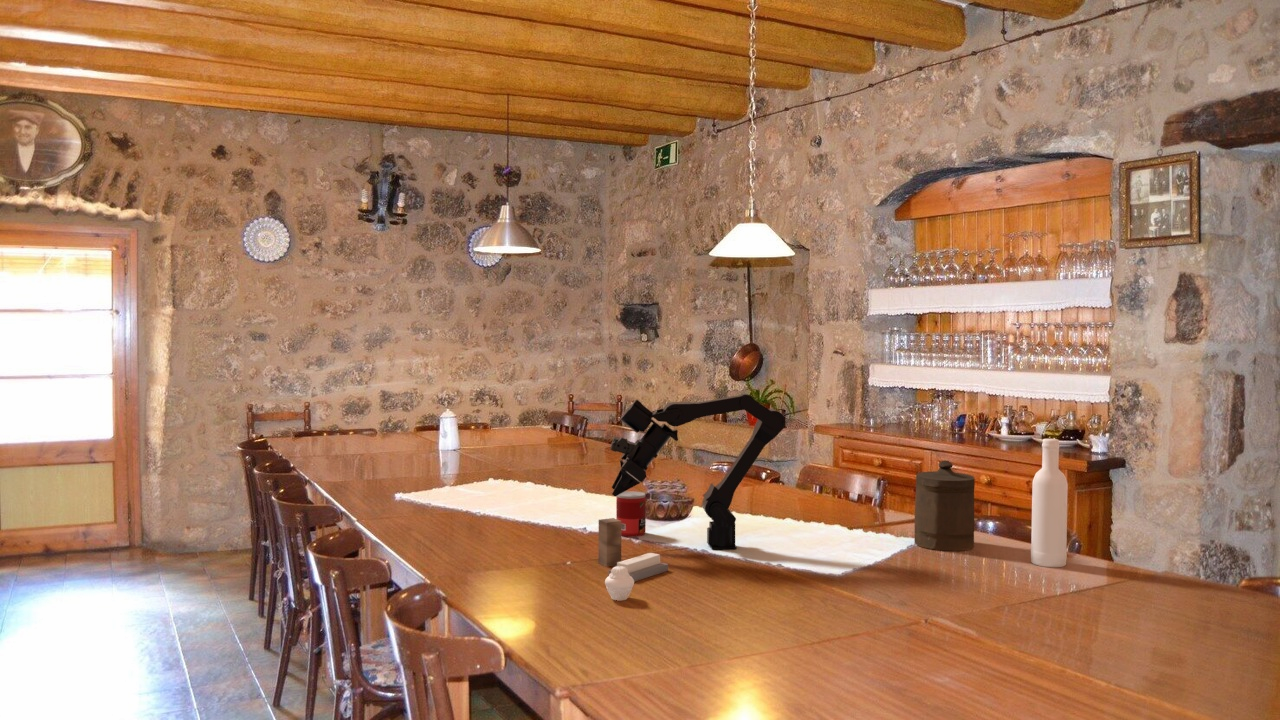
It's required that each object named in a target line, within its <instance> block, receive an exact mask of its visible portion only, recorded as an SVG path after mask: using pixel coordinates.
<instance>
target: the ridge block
mask: <svg viewBox="0 0 1280 720" xmlns="http://www.w3.org/2000/svg"><path fill="white" fill-rule="evenodd" d="M616 566H623V567H625V568H627V570H628V573H629V575H630V576H631V577H632V578H633V579H634V583H635V582H638V581H641V580H644V579H647V578H649V577H653V576H656V575H659V574H662V573H665V572H668V571H669V564H668V563H664V562H661V554H658V553H654V552H647V553H644V554H642V555H637V556H635V557H632V558H628V559H625V560H621V562H618V563H617V565H616ZM611 570H612V569H609V570H608V575H609V574H611Z"/></svg>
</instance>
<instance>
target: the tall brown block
mask: <svg viewBox="0 0 1280 720" xmlns="http://www.w3.org/2000/svg"><path fill="white" fill-rule="evenodd" d="M621 561H622V536H621V521H620V520H617V519H616V518H614V517H611V518H610V517H609V518H602V519H601V518H600V519H598V564H600V565H602V566H604V567H606V568H608V567H616V566H617V563H618V562H621Z"/></svg>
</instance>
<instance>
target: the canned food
mask: <svg viewBox="0 0 1280 720" xmlns="http://www.w3.org/2000/svg"><path fill="white" fill-rule="evenodd" d="M646 499H647V498H646V493H645V492H642V491H634V490H633V491H630V490H626V491H625V492H623V493H621V494H619V495H617V496H616V502H615V503H616V505H615V506H616V512H615V513H616V515H615V517H616V518H615V519H617V520H620V521H621V537H627V538H629V537H630V538H631V537H633V538H635V537H642V536H644V535H645V534H646V524H647V523H646V522H647V521H646V520H647V519H646V516H647V515H646V511H647V509H646V505H647V503H646V501H647V500H646Z"/></svg>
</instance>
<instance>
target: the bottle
mask: <svg viewBox="0 0 1280 720" xmlns="http://www.w3.org/2000/svg"><path fill="white" fill-rule="evenodd" d="M1041 448H1042V459H1041V460H1042V461H1041V468H1040V469H1039V470H1038V471H1036V472H1035V474H1034V477H1033V479H1032V487H1031V488H1032V491H1031V492H1032V493H1031V537H1030V538H1031V540H1030V541H1031V542H1030V543H1031V544H1030V562H1031V564H1033V565H1035V566H1039V567H1043V568H1063V567H1065V566H1066V565H1067V556H1068V555H1067V554H1068V553H1067V543H1068V542H1067V541H1068V540H1067V538H1068V536H1067V535H1068V532H1067V531H1068V526H1067V525H1068V490H1069V489H1068V488H1069V486H1068V485H1069V484H1068V480H1067V478H1066V475H1065V474H1064V473H1063V471H1062V470H1060V468H1059V463H1060V461H1059V460H1060V459H1059V458H1060V440H1059V439H1057V438H1043V439H1042V443H1041Z"/></svg>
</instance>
